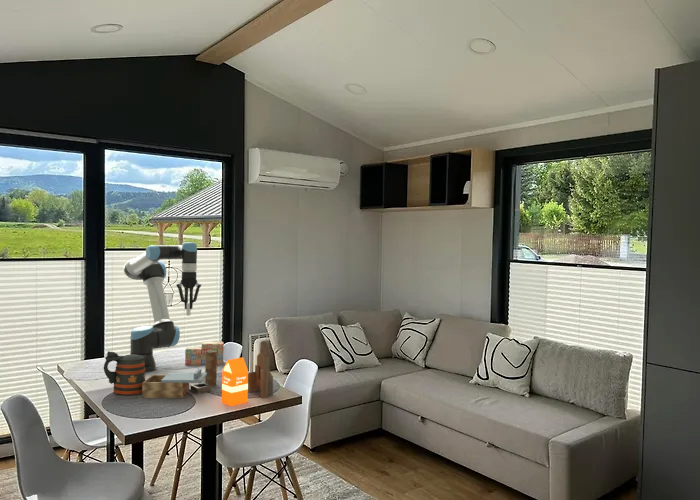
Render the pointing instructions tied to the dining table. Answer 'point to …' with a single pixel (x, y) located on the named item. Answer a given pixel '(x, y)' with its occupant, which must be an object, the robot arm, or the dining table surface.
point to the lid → (184, 377)
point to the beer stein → (126, 373)
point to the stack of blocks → (203, 353)
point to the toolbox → (162, 388)
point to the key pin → (211, 367)
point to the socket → (200, 388)
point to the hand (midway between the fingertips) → (188, 315)
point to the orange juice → (235, 382)
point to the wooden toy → (261, 373)
